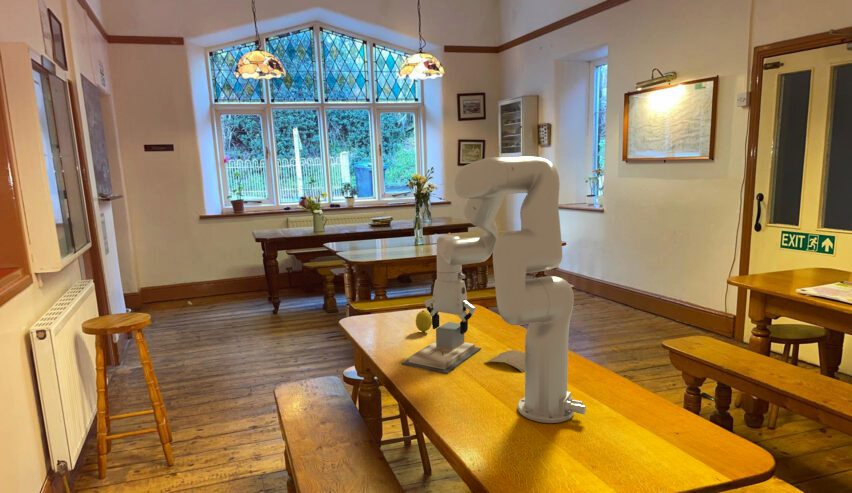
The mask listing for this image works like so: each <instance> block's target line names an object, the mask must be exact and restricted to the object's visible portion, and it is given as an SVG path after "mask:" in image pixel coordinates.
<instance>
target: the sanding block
mask: <svg viewBox="0 0 852 493" xmlns="http://www.w3.org/2000/svg"><path fill="white" fill-rule="evenodd" d="M435 341H436V348H440V349H446V350H451V351H453V350H454V349H456V348H457V347H459V346H460V345H462V344H463V343H464V342H465V333H464V334H460V322H459V323H458V322H451V321H447V322H446V323H444V324H442V325H439V327H438V328H436V329H435Z"/></svg>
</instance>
